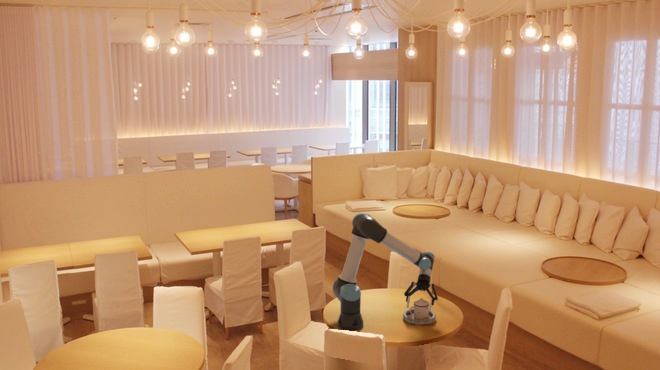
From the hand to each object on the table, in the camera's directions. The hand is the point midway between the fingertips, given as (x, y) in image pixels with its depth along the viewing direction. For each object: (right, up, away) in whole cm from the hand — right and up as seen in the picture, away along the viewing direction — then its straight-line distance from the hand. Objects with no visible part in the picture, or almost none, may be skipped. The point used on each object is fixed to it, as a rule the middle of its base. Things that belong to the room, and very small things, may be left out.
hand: (418, 308), depth 379 cm
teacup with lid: (+1, -6, +3) cm, 7 cm away
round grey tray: (+1, -7, +4) cm, 8 cm away
